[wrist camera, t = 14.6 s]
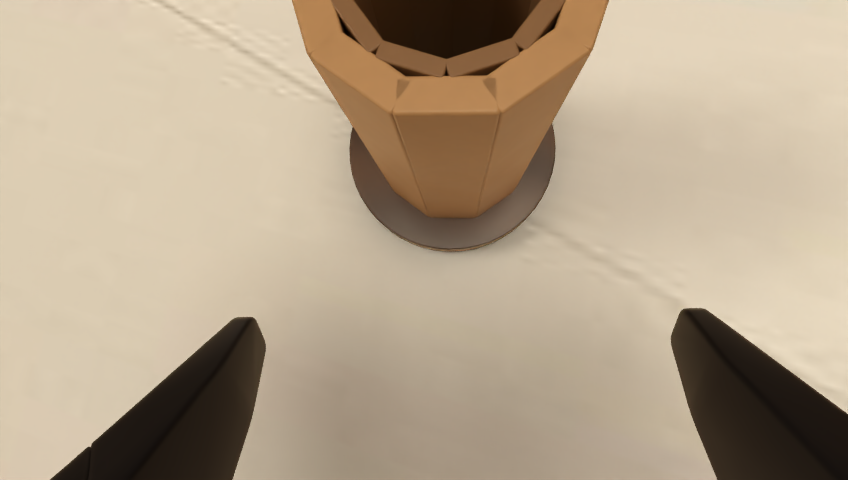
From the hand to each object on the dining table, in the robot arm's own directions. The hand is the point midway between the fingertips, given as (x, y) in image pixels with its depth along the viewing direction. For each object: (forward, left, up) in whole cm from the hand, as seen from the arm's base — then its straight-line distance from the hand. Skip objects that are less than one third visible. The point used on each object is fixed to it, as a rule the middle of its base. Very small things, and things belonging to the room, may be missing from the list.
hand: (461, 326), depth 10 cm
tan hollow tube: (+8, +1, -12) cm, 14 cm away
